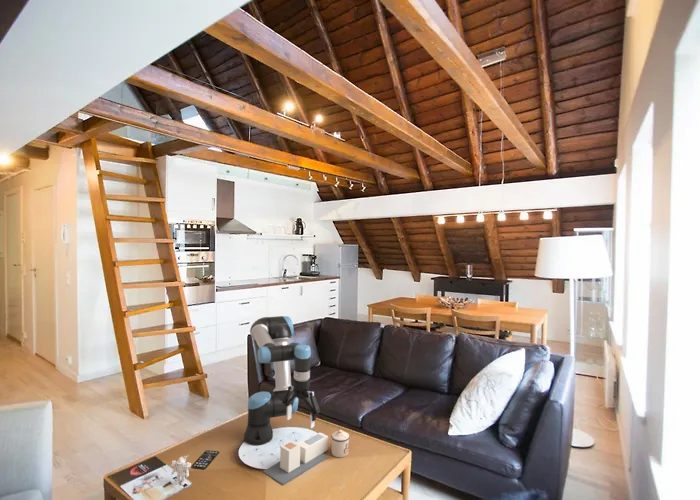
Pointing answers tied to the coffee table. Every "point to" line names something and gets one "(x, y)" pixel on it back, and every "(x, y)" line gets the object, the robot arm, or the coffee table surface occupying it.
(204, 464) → the smartphone
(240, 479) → the coffee table surface
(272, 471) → the mat
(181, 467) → the hat wearing toy figure
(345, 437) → the teacup with lid
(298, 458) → the box with pink panel
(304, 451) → the cream long box
